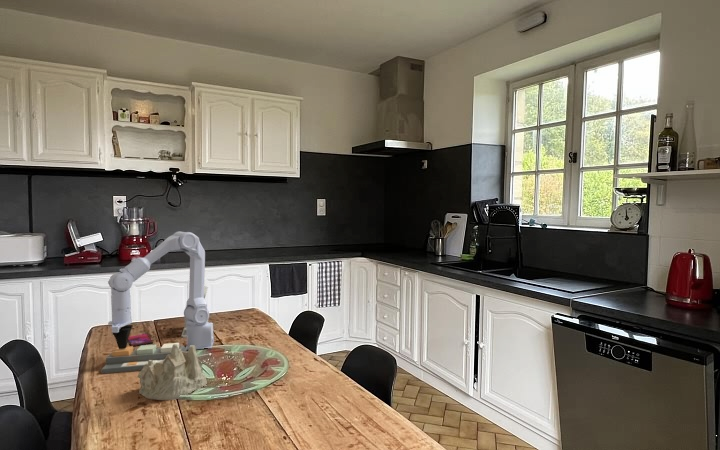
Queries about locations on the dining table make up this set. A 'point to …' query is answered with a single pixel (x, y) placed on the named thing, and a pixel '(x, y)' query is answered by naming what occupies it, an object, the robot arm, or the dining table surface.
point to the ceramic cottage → (172, 375)
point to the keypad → (134, 361)
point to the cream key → (167, 347)
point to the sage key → (146, 349)
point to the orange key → (122, 351)
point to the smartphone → (139, 340)
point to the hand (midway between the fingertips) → (122, 348)
